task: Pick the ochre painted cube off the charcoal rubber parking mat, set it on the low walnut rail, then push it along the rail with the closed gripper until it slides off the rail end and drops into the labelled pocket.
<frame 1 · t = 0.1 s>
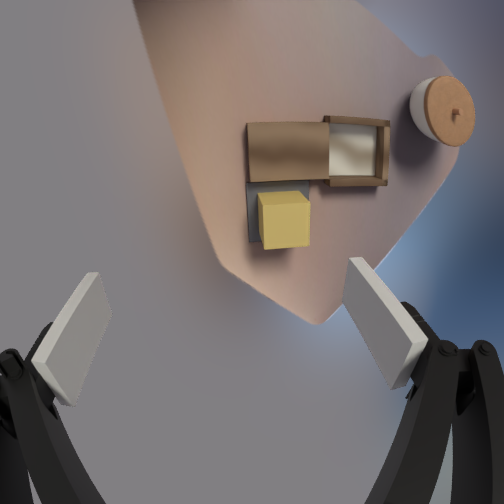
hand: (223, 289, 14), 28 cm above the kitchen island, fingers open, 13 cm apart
lidded jar: (422, 108, 36), on the kitchen island
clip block: (282, 218, 39), point 3 cm above the kitchen island, touching parking mat
parking mat: (278, 210, 42), on the kitchen island
flange rail: (324, 149, 39), on the kitchen island
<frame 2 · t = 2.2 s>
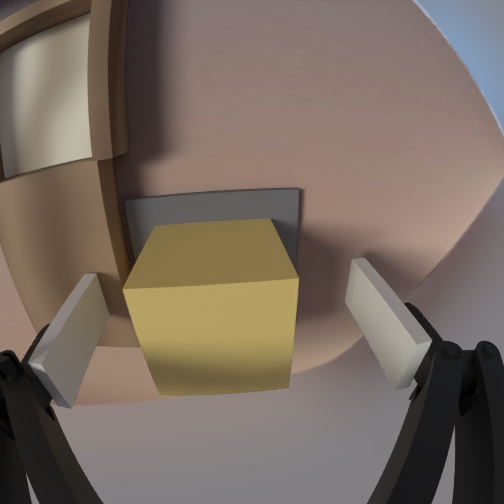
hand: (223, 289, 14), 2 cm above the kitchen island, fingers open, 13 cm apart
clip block: (216, 304, 13), point 3 cm above the kitchen island, touching parking mat
parking mat: (216, 269, 16), on the kitchen island
flange rail: (51, 166, 13), on the kitchen island
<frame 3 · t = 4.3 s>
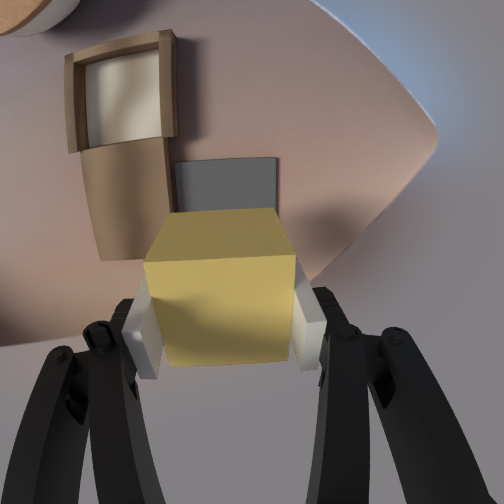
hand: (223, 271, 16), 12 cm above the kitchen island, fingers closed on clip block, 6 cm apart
lidded jar: (60, 1, 15), on the kitchen island
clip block: (223, 283, 15), point 13 cm above the kitchen island, touching gripper
parking mat: (227, 206, 27), on the kitchen island
flange rail: (126, 141, 23), on the kitchen island
when the fingers open (2 cm above the kitchen island, at t = 7.1 s): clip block stays where it is, resting on flange rail.
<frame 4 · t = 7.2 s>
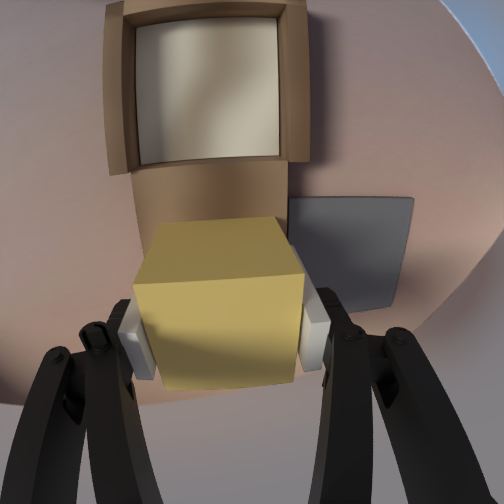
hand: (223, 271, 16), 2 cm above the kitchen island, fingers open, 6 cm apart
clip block: (222, 300, 14), point 5 cm above the kitchen island, touching flange rail, gripper
parking mat: (348, 259, 19), on the kitchen island
flange rail: (209, 158, 15), on the kitchen island
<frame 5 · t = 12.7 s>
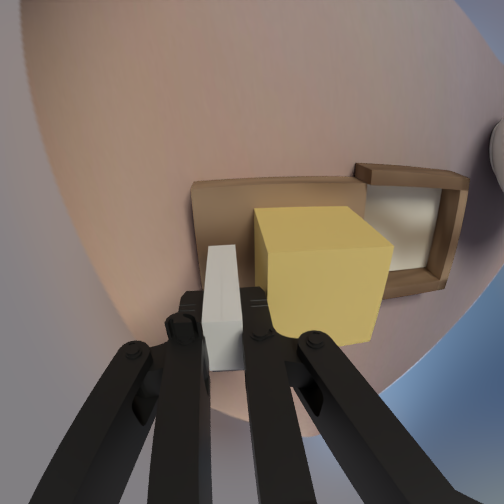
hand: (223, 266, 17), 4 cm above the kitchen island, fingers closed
lidded jar: (503, 150, 19), on the kitchen island
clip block: (312, 274, 16), point 5 cm above the kitchen island
flange rail: (350, 229, 21), on the kitchen island
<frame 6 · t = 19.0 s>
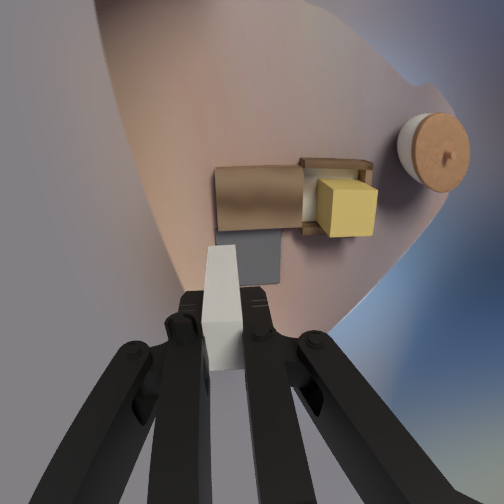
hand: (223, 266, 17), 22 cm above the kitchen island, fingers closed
lidded jar: (412, 144, 36), on the kitchen island
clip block: (345, 206, 36), point 3 cm above the kitchen island, tilted 90°, touching flange rail
parking mat: (248, 256, 42), on the kitchen island
flange rail: (299, 194, 38), on the kitchen island
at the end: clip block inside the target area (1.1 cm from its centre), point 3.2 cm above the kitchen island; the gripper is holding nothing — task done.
